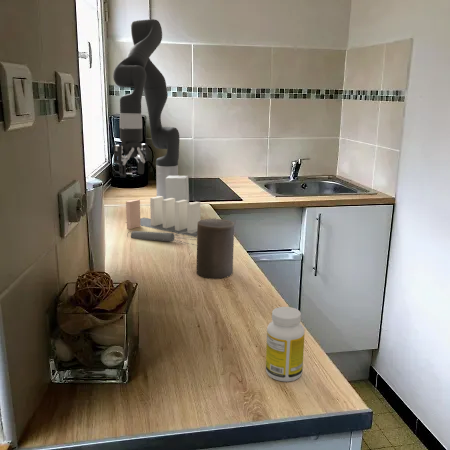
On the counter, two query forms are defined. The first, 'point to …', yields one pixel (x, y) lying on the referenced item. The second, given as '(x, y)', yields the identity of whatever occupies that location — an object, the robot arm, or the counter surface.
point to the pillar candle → (215, 248)
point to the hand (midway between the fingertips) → (131, 175)
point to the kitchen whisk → (158, 236)
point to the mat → (147, 223)
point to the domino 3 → (168, 212)
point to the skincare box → (177, 188)
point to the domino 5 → (193, 216)
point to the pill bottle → (285, 345)
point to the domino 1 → (133, 213)
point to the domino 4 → (181, 215)
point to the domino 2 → (156, 210)
